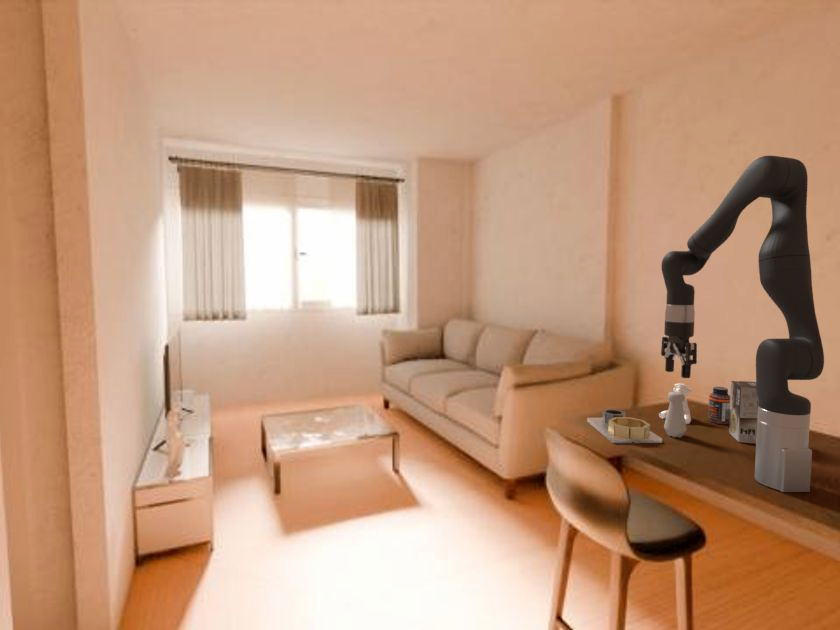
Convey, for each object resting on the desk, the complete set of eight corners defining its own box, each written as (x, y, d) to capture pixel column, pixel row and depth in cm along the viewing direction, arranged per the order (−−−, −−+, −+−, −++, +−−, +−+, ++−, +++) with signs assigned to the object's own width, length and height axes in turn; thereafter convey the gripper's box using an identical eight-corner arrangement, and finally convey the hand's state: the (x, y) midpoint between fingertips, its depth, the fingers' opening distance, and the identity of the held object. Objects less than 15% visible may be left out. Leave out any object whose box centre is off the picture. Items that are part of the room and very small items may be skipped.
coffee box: (764, 445, 128) (767, 388, 126) (737, 442, 130) (740, 386, 128) (752, 434, 136) (755, 381, 135) (727, 432, 138) (730, 379, 137)
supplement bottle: (703, 420, 150) (704, 386, 149) (717, 418, 152) (718, 385, 151) (720, 425, 144) (721, 390, 143) (734, 423, 146) (736, 389, 145)
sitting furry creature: (657, 418, 152) (659, 383, 151) (667, 413, 158) (668, 379, 157) (689, 424, 145) (690, 387, 144) (698, 419, 151) (699, 383, 150)
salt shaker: (689, 439, 132) (690, 395, 131) (667, 438, 134) (669, 394, 133) (681, 432, 138) (683, 390, 137) (661, 431, 139) (662, 389, 138)
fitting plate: (662, 442, 130) (662, 428, 130) (612, 443, 130) (613, 428, 130) (629, 420, 150) (630, 408, 149) (587, 421, 150) (587, 408, 149)
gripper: (707, 322, 126) (705, 380, 127) (678, 317, 140) (676, 369, 141) (680, 322, 126) (678, 380, 127) (654, 317, 140) (652, 369, 142)
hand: (677, 374), depth 134 cm, fingers open, 8 cm apart
